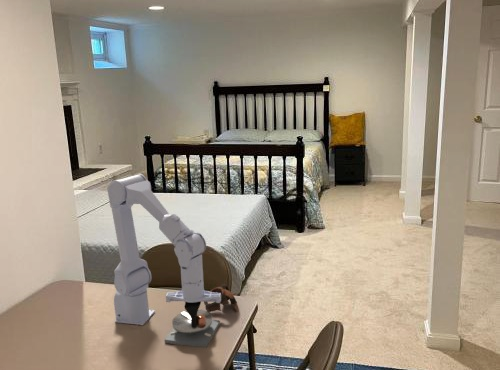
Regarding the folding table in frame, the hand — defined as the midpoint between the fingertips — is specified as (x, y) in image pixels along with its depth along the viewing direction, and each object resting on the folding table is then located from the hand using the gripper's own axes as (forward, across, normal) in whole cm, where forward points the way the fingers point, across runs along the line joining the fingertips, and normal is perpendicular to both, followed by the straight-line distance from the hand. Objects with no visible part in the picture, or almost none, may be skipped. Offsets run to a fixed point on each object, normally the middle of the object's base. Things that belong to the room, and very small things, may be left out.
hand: (195, 325), depth 123 cm
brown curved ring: (+5, -5, -18) cm, 19 cm away
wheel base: (+5, +2, -4) cm, 6 cm away
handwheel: (+3, +2, -4) cm, 5 cm away
